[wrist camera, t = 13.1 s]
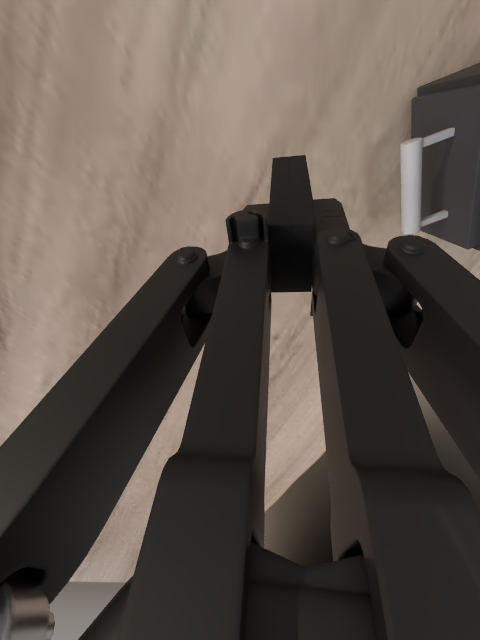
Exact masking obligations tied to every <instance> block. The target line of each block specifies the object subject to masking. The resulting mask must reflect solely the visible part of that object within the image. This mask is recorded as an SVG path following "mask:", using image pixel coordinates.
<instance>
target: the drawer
mask: <svg viewBox="0 0 480 640" xmlns="http://www.w3.org/2000/svg"><path fill="white" fill-rule="evenodd" d="M400 156H401V224H402V233H403V234H406V235H410V234H415V233H418V232H419V231H420V230H421V231H423V232H426V233H428V234H431V235H433V236H436V237H438V238H441V239H443V240H446V241H448V242H451V243H453V244H455V245H458V246H460V247H463V248H465V249H470V248H473V247H476V246H478V245H480V84H474V85H469V86H464V87H459V88H454V89H448V90H443V91H438V92H433V93H428V94H423V95H420V96H418V97H415V98H413V99H412V128H411V139H410V140H407V141H404V142H402V143H401V144H400Z"/></svg>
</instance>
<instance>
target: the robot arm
mask: <svg viewBox="0 0 480 640" xmlns="http://www.w3.org/2000/svg"><path fill="white" fill-rule="evenodd" d="M226 226H227V233H228V239H229V246H228V250H227V251H225V252H223V253H220V254H216V255H212V256H208V257H207V253H206V251H205V250H204V249H202V248H199V247H184V248H181V249H179V250H177V251H174V252H173V253H172V254H171V255H170V256H169V257H168V258H167V259H166V260H165V261H164V262H163V263H162V265H161V266H160V267H159V268H158V269H157V270H156V271H155V272H154V274H153V275H152V276H151V277H150V278H149V279H148V280H147V282H146V283H145V284H144V285H143V286H142V287H141V288H140V289H139V291H138V292H137V293H136V294H135V295H134V296H133V297H132V299H131V300H130V301H129V302H128V303H127V304H126V305H125V306H124V308H123V309H122V310H121V311H120V312H119V313H118V314H117V315H116V317H115V318H114V319H113V320H112V321H111V322H110V323H109V325H108V326H107V327H106V328H105V329H104V330H103V331H102V332H101V334H100V335H99V336H98V337H97V338H96V339H95V340H94V341H93V343H92V344H91V345H90V346H89V347H88V348H87V349H86V351H85V352H84V353H83V354H82V355H81V356H80V357H79V358H78V360H77V361H76V362H75V363H74V364H73V365H72V366H71V367H70V369H69V370H68V371H67V372H66V373H65V374H64V375H63V377H62V378H61V379H60V380H59V381H58V382H57V383H56V384H55V386H54V387H53V388H52V389H51V390H50V391H49V392H48V393H47V395H46V396H45V397H44V398H43V399H42V400H41V401H40V403H39V404H38V405H37V406H36V407H35V408H34V409H33V410H32V412H31V413H30V414H29V415H28V416H27V417H26V418H25V419H24V421H23V422H22V423H21V424H20V425H19V426H18V427H17V429H16V430H15V431H14V432H13V433H12V434H11V435H10V436H9V438H8V439H7V440H6V441H5V442H4V443H3V444H2V445H1V447H0V640H51V637H52V635H53V632H54V626H55V620H54V615H53V613H52V612H51V611H50V608H49V607H50V606H49V605H50V603H51V602H52V601H53V600H54V598H55V597H56V596H57V595H58V593H59V592H60V591H61V590H62V589H63V587H64V586H65V585H66V584H67V583H68V581H69V580H70V578H71V577H72V576H73V574H74V573H75V571H76V570H77V568H78V567H79V566H80V564H81V563H82V561H83V560H84V559H85V557H86V556H87V554H88V552H89V551H90V549H91V547H92V546H93V544H94V542H95V541H96V539H97V537H98V536H99V534H100V532H101V531H102V529H103V527H104V525H105V524H106V522H107V520H108V518H109V516H110V515H111V513H112V511H113V509H114V507H115V505H116V504H117V502H118V500H119V498H120V496H121V495H122V493H123V491H124V489H125V487H126V485H127V484H128V482H129V480H130V478H131V476H132V475H133V473H134V471H135V469H136V467H137V465H138V464H139V462H140V460H141V458H142V456H143V455H144V453H145V451H146V449H147V447H148V446H149V444H150V442H151V440H152V438H153V436H154V435H155V433H156V431H157V429H158V427H159V426H160V424H161V422H162V420H163V418H164V416H165V415H166V413H167V411H168V409H169V407H170V406H171V404H172V402H173V400H174V398H175V396H176V395H177V393H178V391H179V389H180V387H181V386H182V384H183V382H184V380H185V378H186V376H187V375H188V373H189V371H190V369H191V367H192V366H193V364H194V362H195V360H196V358H197V356H198V355H199V353H200V351H201V349H202V347H203V346H204V344H205V347H204V351H203V355H202V359H201V363H200V368H199V372H198V376H197V380H196V384H195V388H194V393H193V397H192V401H191V405H190V409H189V413H188V418H187V422H186V426H185V430H184V434H183V439H182V442H181V445H180V448H179V450H178V452H177V453H176V454H174V455H173V456H172V457H170V458H169V459H168V461H167V463H166V465H165V466H164V468H163V471H162V474H161V477H160V480H159V483H158V486H157V490H156V494H155V498H154V501H153V505H152V509H151V512H150V516H149V520H148V524H147V527H146V531H145V535H144V538H143V542H142V546H141V550H140V553H139V557H138V561H137V565H136V568H135V572H134V575H133V576H132V577H131V578H130V579H129V580H128V581H127V582H126V583H125V585H124V586H123V587H122V588H121V589H120V590H119V591H118V593H117V594H116V595H115V596H114V598H113V599H112V600H111V601H110V602H109V603H108V605H107V606H106V607H105V608H104V609H103V611H102V612H101V613H100V614H99V615H98V616H97V618H96V619H95V620H94V621H93V623H92V624H91V625H90V626H89V627H88V628H87V630H86V631H85V632H84V633H83V634H82V636H81V637H80V638H79V639H78V640H480V511H479V509H478V507H477V505H476V503H475V501H474V499H473V497H472V495H471V493H470V491H469V490H468V488H467V487H466V486H465V485H464V483H463V482H462V481H461V480H460V479H459V478H457V477H456V476H454V475H452V474H451V473H449V472H448V471H446V470H445V469H444V467H443V466H442V465H441V463H440V460H439V458H438V456H437V453H436V451H435V448H434V445H433V442H432V439H431V436H430V434H429V431H428V428H427V425H426V422H425V419H424V417H423V414H422V411H421V408H420V405H419V402H418V399H417V397H416V394H415V391H414V388H413V385H412V382H411V380H410V377H409V374H410V375H411V377H412V378H413V380H414V381H415V383H416V384H417V386H418V387H419V389H420V390H421V392H422V393H423V395H424V396H425V398H426V399H427V401H428V402H429V404H430V405H431V407H432V409H433V410H434V411H435V413H436V414H437V416H438V417H439V419H440V421H441V422H442V423H443V425H444V427H445V428H446V430H447V431H448V432H449V434H450V436H451V437H452V439H453V440H454V442H455V443H456V445H457V446H458V448H459V449H460V451H461V452H462V453H463V455H464V457H465V458H466V459H467V461H468V463H469V464H470V466H471V467H472V468H473V470H474V472H475V473H476V475H477V476H478V478H479V479H480V280H479V279H477V278H476V277H475V276H474V275H473V274H471V273H470V272H469V271H468V270H467V269H465V268H464V267H463V266H462V265H460V264H459V263H458V262H457V261H456V260H454V259H453V258H452V257H451V256H450V255H448V254H447V253H446V252H445V251H444V250H442V249H441V248H440V247H439V246H437V245H436V244H435V243H433V242H432V241H430V240H428V239H425V238H422V237H420V236H413V235H408V236H399V237H396V238H393V239H392V240H390V241H389V242H388V246H387V249H386V248H378V247H372V246H367V245H364V244H362V241H361V238H360V236H359V235H358V234H357V233H356V232H354V231H352V230H350V228H349V225H348V222H347V219H346V216H345V213H344V210H343V207H342V204H341V203H340V202H339V201H337V200H336V199H335V198H332V199H317V200H313V198H312V192H311V186H310V180H309V174H308V168H307V162H306V156H305V155H301V156H290V157H279V158H273V164H272V177H271V190H270V204H256V205H247V206H246V207H245V208H244V209H243V210H242V211H238V212H235V213H233V214H231V215H230V216H228V217H227V219H226ZM311 289H313V290H312V301H311V313H310V316H313V320H314V331H315V341H316V351H317V361H318V371H319V382H320V392H321V402H322V412H323V422H324V433H325V443H326V453H327V463H328V474H329V484H330V493H331V536H332V549H333V560H334V561H333V562H328V563H323V564H319V565H315V566H302V565H299V564H297V563H295V562H293V561H290V560H288V559H286V558H284V557H282V556H280V555H277V554H275V553H273V552H271V551H269V550H266V549H264V516H265V515H264V487H265V460H266V434H267V407H268V381H269V354H270V328H271V292H311ZM417 301H418V302H419V304H420V305H421V307H422V310H421V309H420V308H419V307H418V306H417V304H416V303H417ZM408 372H409V374H408Z"/></svg>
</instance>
